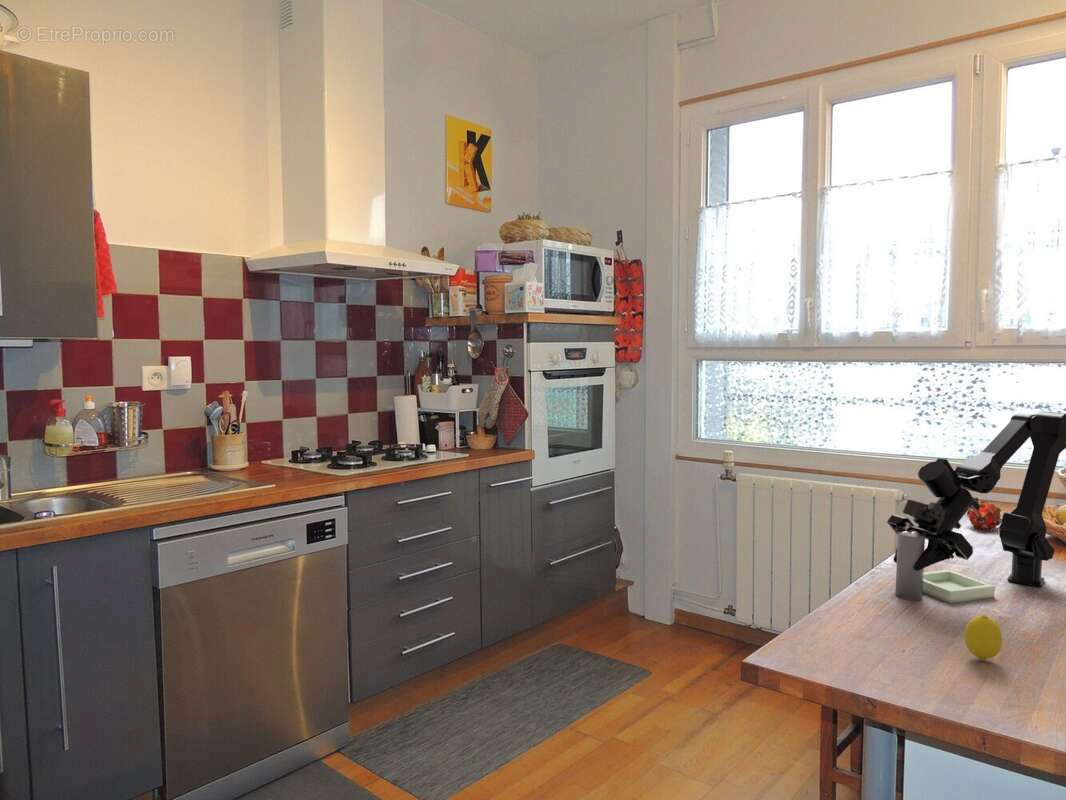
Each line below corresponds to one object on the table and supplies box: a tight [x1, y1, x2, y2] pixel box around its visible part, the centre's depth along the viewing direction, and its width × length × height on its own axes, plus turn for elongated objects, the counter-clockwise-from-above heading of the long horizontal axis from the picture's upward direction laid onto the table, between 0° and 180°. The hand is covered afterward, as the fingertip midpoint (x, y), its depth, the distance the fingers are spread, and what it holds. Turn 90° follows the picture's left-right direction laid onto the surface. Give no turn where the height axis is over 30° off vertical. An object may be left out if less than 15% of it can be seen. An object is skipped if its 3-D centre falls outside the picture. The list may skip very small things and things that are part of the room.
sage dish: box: [923, 569, 996, 604], centre depth 165 cm, size 12×12×2 cm
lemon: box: [964, 614, 1003, 662], centre depth 129 cm, size 6×6×8 cm
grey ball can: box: [895, 531, 926, 601], centre depth 161 cm, size 5×5×14 cm
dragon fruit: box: [966, 500, 1002, 531], centre depth 220 cm, size 8×8×12 cm
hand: (904, 565), depth 161 cm, fingers closed on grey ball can, 5 cm apart
